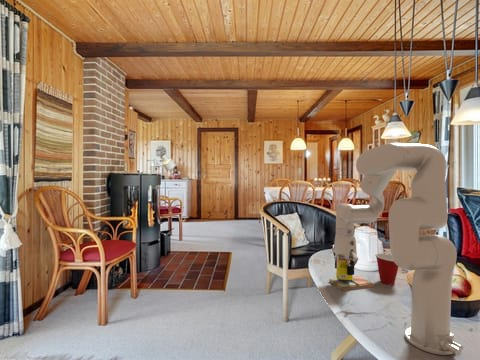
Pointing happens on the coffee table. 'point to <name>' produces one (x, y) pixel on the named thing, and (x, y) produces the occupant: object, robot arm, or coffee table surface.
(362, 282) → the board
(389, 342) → the coffee table surface
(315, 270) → the coffee table surface
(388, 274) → the plastic cup
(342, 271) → the supplement box
